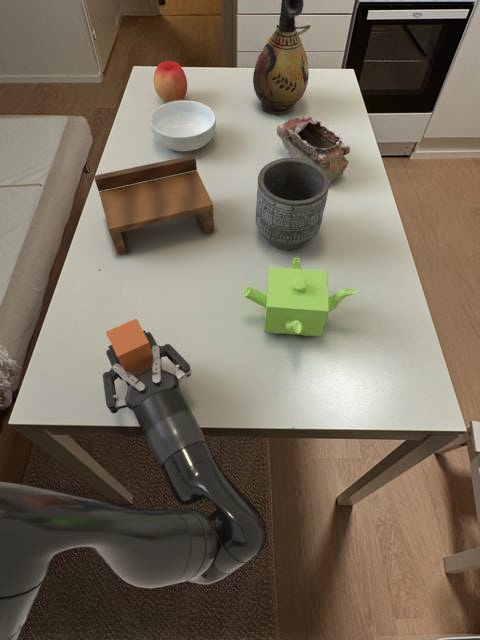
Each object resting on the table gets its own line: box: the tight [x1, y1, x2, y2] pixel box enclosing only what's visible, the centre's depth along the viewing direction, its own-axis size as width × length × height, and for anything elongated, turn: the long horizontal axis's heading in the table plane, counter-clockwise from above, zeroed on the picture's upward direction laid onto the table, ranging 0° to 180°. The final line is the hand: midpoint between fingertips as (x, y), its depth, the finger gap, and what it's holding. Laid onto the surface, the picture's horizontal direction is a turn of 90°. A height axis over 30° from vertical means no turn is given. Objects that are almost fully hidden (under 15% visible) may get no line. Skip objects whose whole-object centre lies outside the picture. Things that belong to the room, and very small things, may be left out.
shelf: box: [93, 154, 215, 255], centre depth 90 cm, size 22×14×11 cm, turn 110°
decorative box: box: [276, 115, 351, 183], centre depth 103 cm, size 13×20×10 cm, turn 28°
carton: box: [105, 318, 153, 375], centre depth 67 cm, size 5×5×12 cm
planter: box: [255, 157, 331, 251], centre depth 87 cm, size 14×14×15 cm
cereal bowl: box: [149, 99, 217, 152], centre depth 109 cm, size 17×17×7 cm
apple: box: [153, 60, 188, 104], centre depth 119 cm, size 10×10×10 cm
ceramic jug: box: [252, 0, 310, 116], centre depth 110 cm, size 17×15×30 cm
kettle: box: [242, 257, 358, 337], centre depth 76 cm, size 15×14×11 cm
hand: (127, 340), depth 68 cm, fingers closed on carton, 5 cm apart
